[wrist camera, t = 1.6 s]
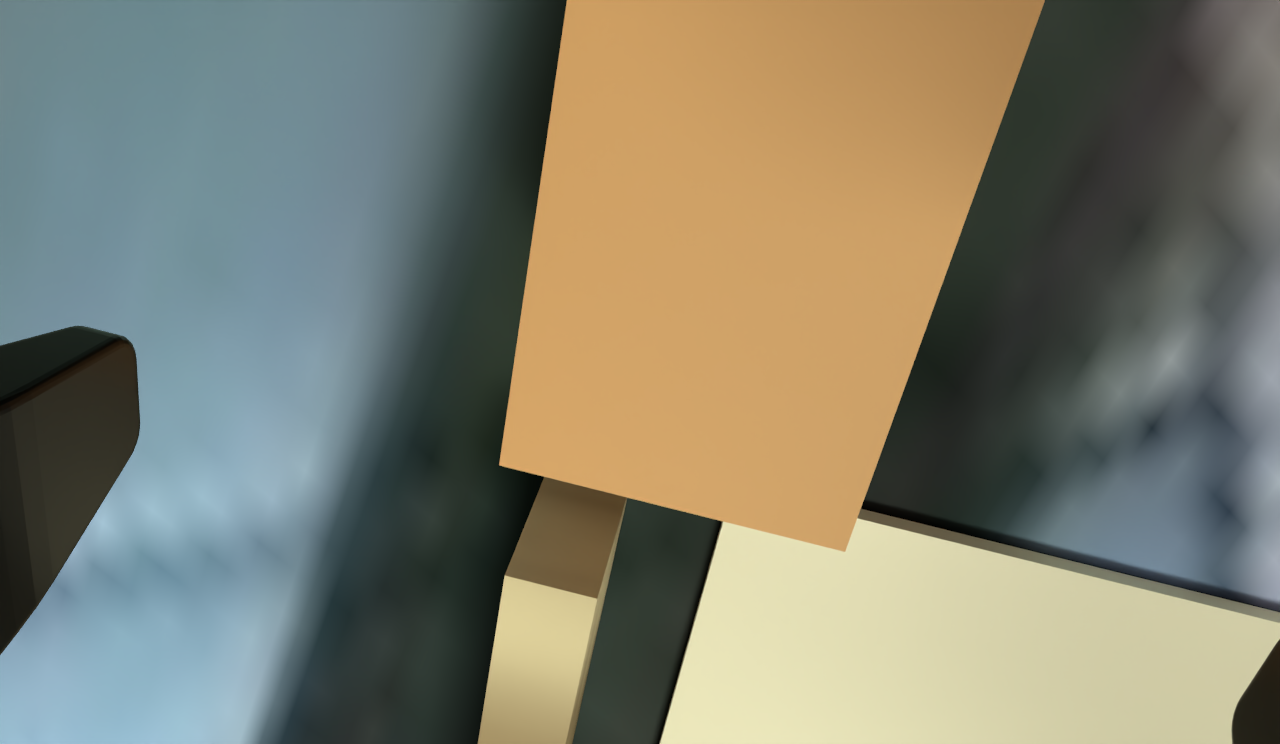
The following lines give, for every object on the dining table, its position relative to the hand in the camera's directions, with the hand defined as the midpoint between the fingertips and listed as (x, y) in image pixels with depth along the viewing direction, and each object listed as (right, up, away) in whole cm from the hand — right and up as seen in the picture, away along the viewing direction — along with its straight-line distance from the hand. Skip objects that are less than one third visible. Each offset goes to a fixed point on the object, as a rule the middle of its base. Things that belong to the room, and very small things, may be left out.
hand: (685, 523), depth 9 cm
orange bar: (+1, +5, +8) cm, 10 cm away
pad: (+5, -5, +13) cm, 15 cm away
